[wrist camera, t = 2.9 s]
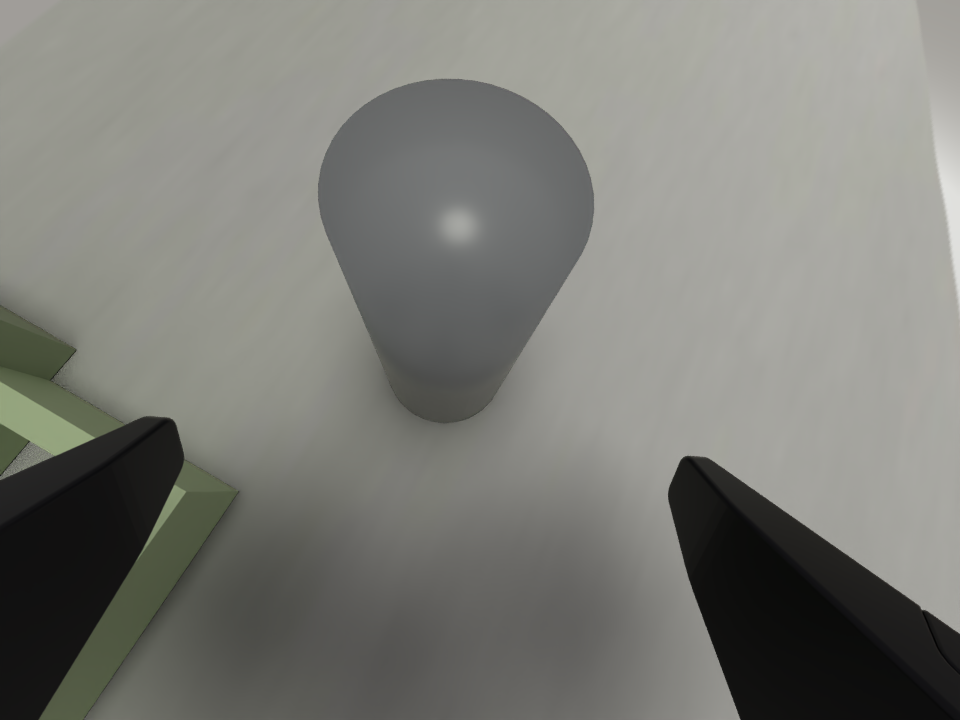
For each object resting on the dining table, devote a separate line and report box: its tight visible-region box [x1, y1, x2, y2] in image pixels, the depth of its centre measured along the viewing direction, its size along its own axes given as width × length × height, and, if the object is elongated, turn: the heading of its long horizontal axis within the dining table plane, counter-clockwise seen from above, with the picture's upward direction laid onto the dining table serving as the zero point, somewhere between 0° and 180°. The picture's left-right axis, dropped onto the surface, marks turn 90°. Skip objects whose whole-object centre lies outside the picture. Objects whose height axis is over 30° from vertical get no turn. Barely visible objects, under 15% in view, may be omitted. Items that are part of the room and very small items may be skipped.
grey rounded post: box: [318, 79, 594, 423], centre depth 14 cm, size 5×5×12 cm
